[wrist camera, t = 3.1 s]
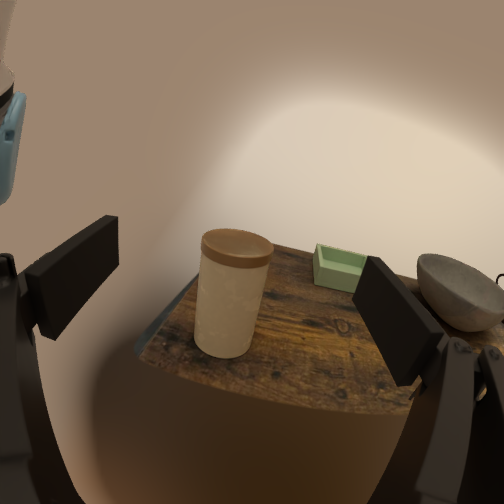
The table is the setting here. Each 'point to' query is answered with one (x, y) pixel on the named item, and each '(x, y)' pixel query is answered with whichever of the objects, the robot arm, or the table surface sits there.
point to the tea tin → (230, 290)
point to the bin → (337, 268)
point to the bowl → (460, 293)
